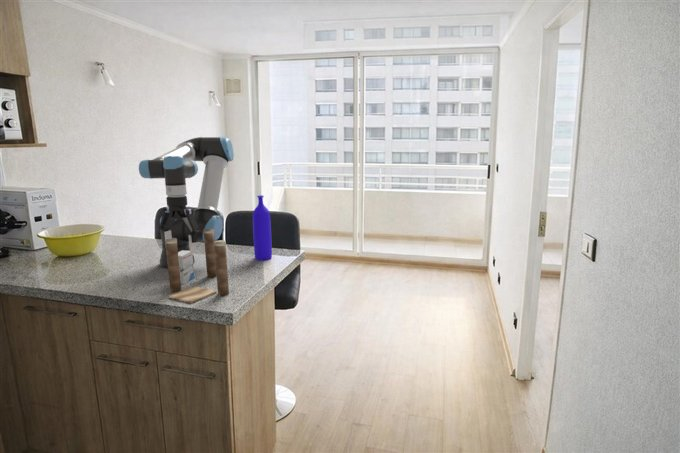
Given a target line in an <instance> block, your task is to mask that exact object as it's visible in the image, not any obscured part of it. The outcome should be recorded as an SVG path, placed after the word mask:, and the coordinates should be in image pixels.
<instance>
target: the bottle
mask: <svg viewBox="0 0 680 453" xmlns="http://www.w3.org/2000/svg"><path fill="white" fill-rule="evenodd" d="M264 196H265V195H261V194H259V195H257V196H256V197H257V198H258V199H257V200H258V204H257V205H256V207H255V209H254V210H253V211H252V233H253V235H252V236H253V250H254V251H253V252H254V258H255V260H256V261H268V259H269V260H271V259H272V256H273V247H272V245H273V244H272V227H271V226H272V224H271V222H272V221H271V214H270V213H271V212H270V211H269V209H268V208H267V207H266V206H265V204H264V201H263V200H264Z"/></svg>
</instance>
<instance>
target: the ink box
mask: <svg viewBox="0 0 680 453" xmlns="http://www.w3.org/2000/svg"><path fill="white" fill-rule="evenodd" d="M192 253H193V251H184V250H182V251H180V252H178V258H179V269H180V280H181V285H185V284H186V283H188V282H189V281H191V280H193V279H194V278H195V271H194V263H193V256H194V254H192Z"/></svg>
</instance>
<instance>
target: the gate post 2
mask: <svg viewBox="0 0 680 453" xmlns="http://www.w3.org/2000/svg"><path fill="white" fill-rule="evenodd" d="M203 231H204V242H203V243H204V253H205V254H204V255H205V264H206V265H205V266H206V277H207V278H209V279H213V278H217V275H216V262H215V248H214V242H215V239H214V229H211V228H210V229H204V230H203Z"/></svg>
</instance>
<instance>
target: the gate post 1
mask: <svg viewBox="0 0 680 453" xmlns="http://www.w3.org/2000/svg"><path fill="white" fill-rule="evenodd" d="M165 243H166V253H167V263H168V268H167V272H168V282H169V292H170V291H171V292H170V293H177V292H180V291H182V284H181V280H180V269H179V258H178V247H177V239H176V238H169V239H166V240H165Z"/></svg>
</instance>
